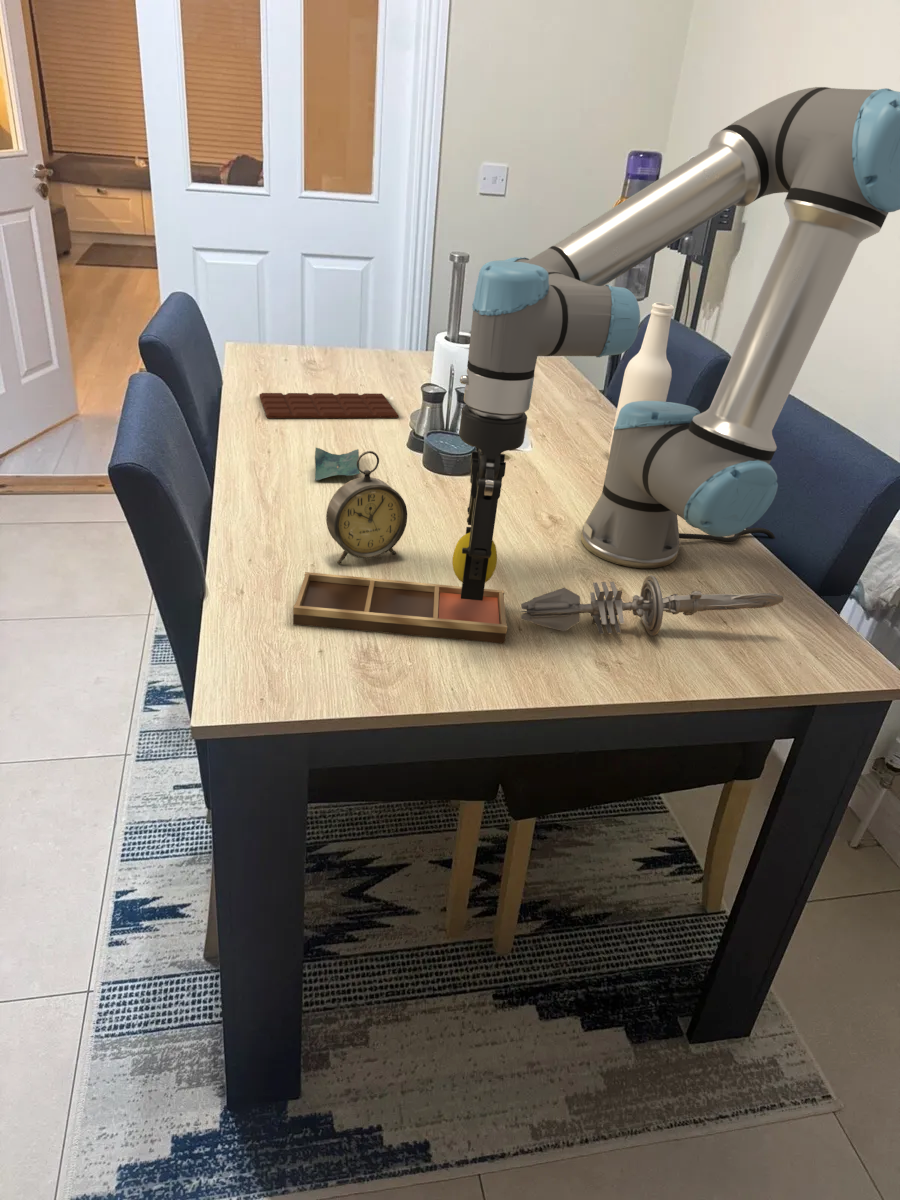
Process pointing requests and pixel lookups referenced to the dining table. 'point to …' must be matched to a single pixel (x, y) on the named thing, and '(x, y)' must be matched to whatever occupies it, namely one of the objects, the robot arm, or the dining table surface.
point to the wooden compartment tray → (399, 608)
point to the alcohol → (649, 363)
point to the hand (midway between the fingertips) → (471, 585)
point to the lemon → (460, 558)
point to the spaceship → (632, 606)
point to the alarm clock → (366, 516)
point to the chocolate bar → (327, 405)
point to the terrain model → (335, 464)
